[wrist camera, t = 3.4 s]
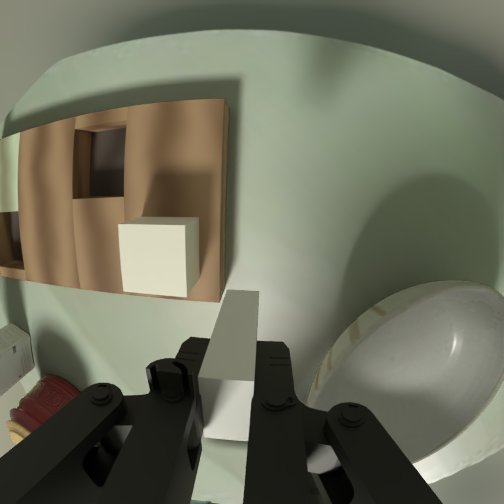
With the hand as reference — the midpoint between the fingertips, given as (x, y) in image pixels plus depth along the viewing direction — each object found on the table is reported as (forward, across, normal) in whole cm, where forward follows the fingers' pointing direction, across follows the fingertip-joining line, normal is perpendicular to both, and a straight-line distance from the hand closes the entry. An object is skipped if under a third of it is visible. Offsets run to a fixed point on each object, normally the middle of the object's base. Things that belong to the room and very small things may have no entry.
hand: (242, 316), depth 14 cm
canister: (+18, +34, +32) cm, 50 cm away
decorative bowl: (+18, -19, +14) cm, 30 cm away
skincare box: (+18, +42, +21) cm, 50 cm away
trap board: (+18, +22, -4) cm, 29 cm away
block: (+14, +8, 0) cm, 16 cm away
